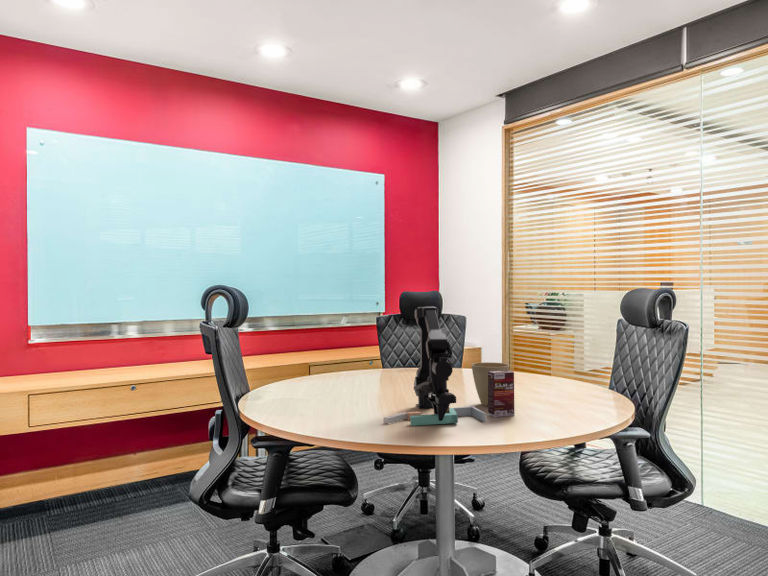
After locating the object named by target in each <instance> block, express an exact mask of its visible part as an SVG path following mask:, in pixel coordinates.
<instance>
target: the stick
mask: <svg viewBox="0 0 768 576" xmlns="http://www.w3.org/2000/svg"><path fill="white" fill-rule="evenodd" d="M404 419H406V420H408V416H407V412H398V413H396V414H391V415H387V416H383V424H384V423H387V424H386V425H390V424H389V423H392V424H394V423H393V422H395V423H398V422H397V421H399V422H402V421H401V420H403V421H405V420H404Z"/></svg>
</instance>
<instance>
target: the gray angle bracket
mask: <svg viewBox="0 0 768 576" xmlns="http://www.w3.org/2000/svg"><path fill="white" fill-rule="evenodd" d="M452 408H453V409H454V410H455V412H456V413H457V416H458V417H468V416H470V417H471V416H472V417H474V418H475V417H476V419H477V420H479V421H481V422H482V421H483V422H486V412H484V411H482V410H481V409H479V408H476V407H475V406H473V405H469V406H461V407H452Z"/></svg>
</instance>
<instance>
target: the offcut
mask: <svg viewBox="0 0 768 576" xmlns="http://www.w3.org/2000/svg"><path fill="white" fill-rule="evenodd" d="M406 413H407V416H408V419H407V420H408V421H410V416H415V415H422V412H420V411H410V412H408V411H407V412H406Z"/></svg>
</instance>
